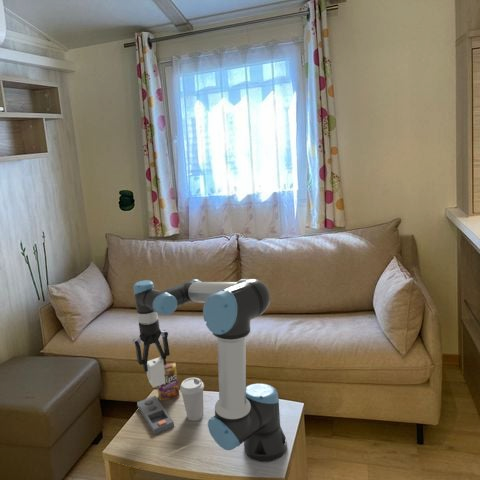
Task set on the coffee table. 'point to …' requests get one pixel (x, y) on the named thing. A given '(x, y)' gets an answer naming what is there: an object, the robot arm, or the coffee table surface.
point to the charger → (156, 372)
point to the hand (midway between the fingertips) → (156, 375)
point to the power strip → (155, 414)
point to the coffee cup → (193, 398)
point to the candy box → (169, 383)
